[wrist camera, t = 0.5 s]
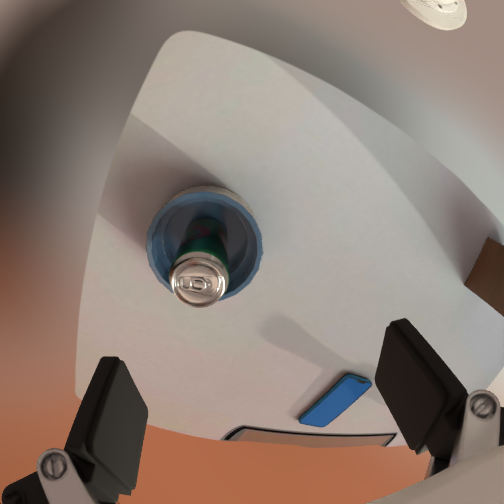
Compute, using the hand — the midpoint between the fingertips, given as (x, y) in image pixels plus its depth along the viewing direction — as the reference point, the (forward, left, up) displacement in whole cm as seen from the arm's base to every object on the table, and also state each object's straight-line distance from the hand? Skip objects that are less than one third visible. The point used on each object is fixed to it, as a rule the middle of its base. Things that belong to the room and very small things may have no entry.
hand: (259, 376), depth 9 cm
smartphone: (+38, +14, -26) cm, 48 cm away
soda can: (+3, -4, -26) cm, 26 cm away
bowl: (+3, -4, -26) cm, 26 cm away
